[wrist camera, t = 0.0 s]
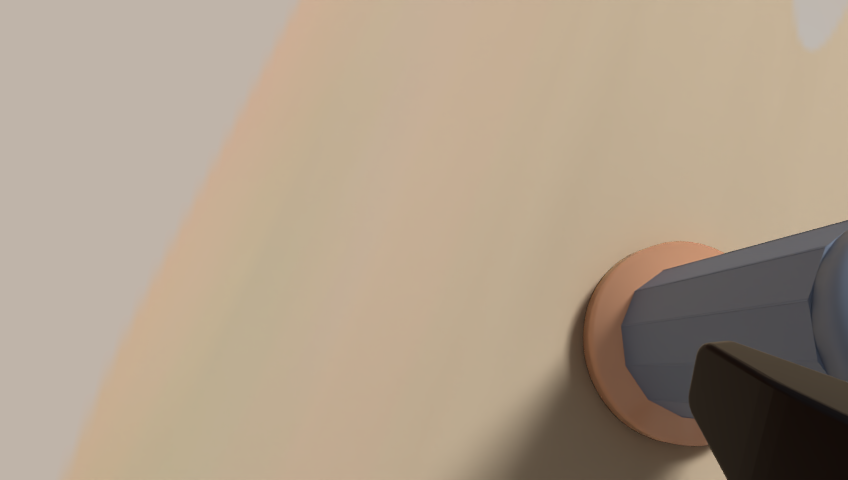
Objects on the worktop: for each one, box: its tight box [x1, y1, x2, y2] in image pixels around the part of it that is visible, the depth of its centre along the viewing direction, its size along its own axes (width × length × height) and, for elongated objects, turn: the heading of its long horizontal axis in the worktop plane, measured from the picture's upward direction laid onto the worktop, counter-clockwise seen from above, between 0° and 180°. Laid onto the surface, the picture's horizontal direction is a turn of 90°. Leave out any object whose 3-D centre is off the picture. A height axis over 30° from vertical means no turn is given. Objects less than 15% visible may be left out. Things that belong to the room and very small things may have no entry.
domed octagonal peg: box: [621, 220, 848, 419], centre depth 20 cm, size 5×5×10 cm
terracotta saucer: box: [583, 241, 724, 446], centre depth 24 cm, size 7×7×5 cm
